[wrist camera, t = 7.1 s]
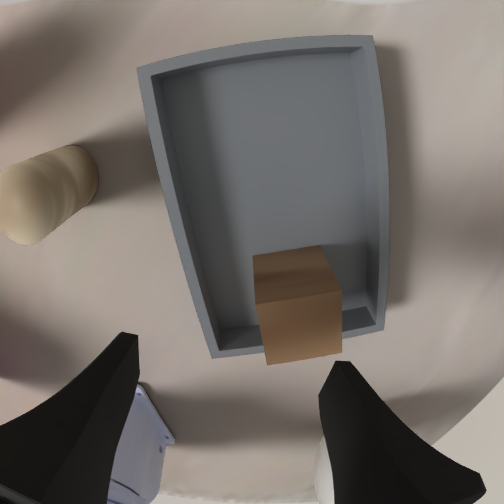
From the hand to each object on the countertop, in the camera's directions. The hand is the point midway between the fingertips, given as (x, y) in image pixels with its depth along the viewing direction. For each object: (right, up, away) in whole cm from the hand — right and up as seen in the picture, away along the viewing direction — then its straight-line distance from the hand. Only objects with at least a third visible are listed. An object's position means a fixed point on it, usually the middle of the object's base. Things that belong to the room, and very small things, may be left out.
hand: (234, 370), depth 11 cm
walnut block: (+3, +3, +9) cm, 10 cm away
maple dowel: (-10, +9, +6) cm, 15 cm away
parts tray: (+2, +7, +7) cm, 10 cm away
